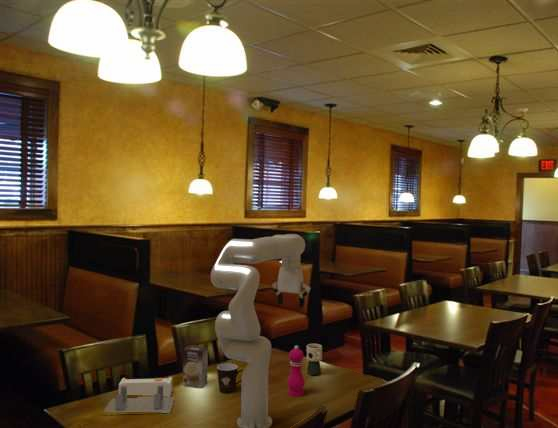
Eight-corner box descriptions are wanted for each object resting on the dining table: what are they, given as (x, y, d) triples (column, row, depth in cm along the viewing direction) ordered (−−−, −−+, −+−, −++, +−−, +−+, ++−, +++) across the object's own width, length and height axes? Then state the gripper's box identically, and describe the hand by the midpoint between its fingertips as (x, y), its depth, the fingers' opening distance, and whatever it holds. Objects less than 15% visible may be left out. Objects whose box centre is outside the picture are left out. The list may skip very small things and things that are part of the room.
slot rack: (170, 413, 184) (170, 396, 184) (103, 415, 182) (103, 398, 182) (174, 400, 196) (174, 384, 196) (111, 402, 194) (111, 385, 194)
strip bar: (169, 398, 199) (169, 381, 198) (118, 399, 197) (118, 383, 197) (172, 391, 206) (172, 375, 205) (122, 392, 204) (122, 376, 204)
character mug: (301, 371, 231) (302, 343, 230) (315, 369, 234) (315, 341, 233) (312, 379, 221) (313, 350, 220) (326, 376, 224) (327, 348, 223)
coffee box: (182, 386, 211) (182, 348, 210) (188, 381, 217) (188, 344, 217) (202, 388, 209) (202, 351, 208) (208, 383, 215) (208, 346, 214)
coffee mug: (212, 392, 205) (212, 368, 205) (224, 385, 213) (224, 362, 212) (236, 397, 200) (236, 373, 199) (247, 390, 207) (247, 366, 207)
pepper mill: (303, 397, 200) (303, 348, 200) (285, 396, 202) (286, 347, 201) (305, 390, 207) (306, 343, 207) (288, 389, 209) (289, 342, 208)
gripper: (268, 263, 204) (267, 305, 205) (306, 267, 196) (306, 310, 197) (276, 261, 211) (276, 301, 211) (314, 264, 203) (313, 306, 203)
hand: (290, 305), depth 204 cm, fingers open, 9 cm apart
